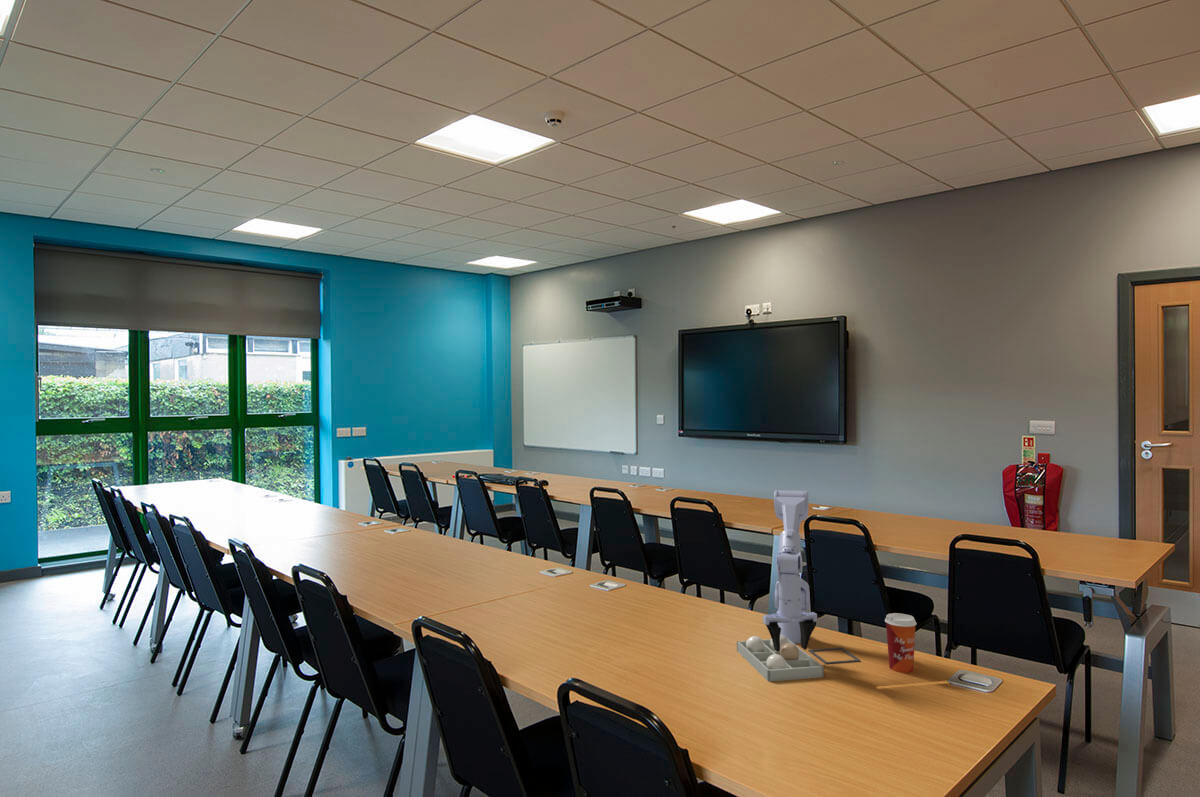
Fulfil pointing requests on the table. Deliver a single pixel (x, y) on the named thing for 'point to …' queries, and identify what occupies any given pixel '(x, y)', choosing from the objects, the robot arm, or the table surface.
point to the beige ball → (789, 652)
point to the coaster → (834, 661)
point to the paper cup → (900, 641)
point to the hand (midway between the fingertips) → (790, 649)
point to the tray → (794, 668)
